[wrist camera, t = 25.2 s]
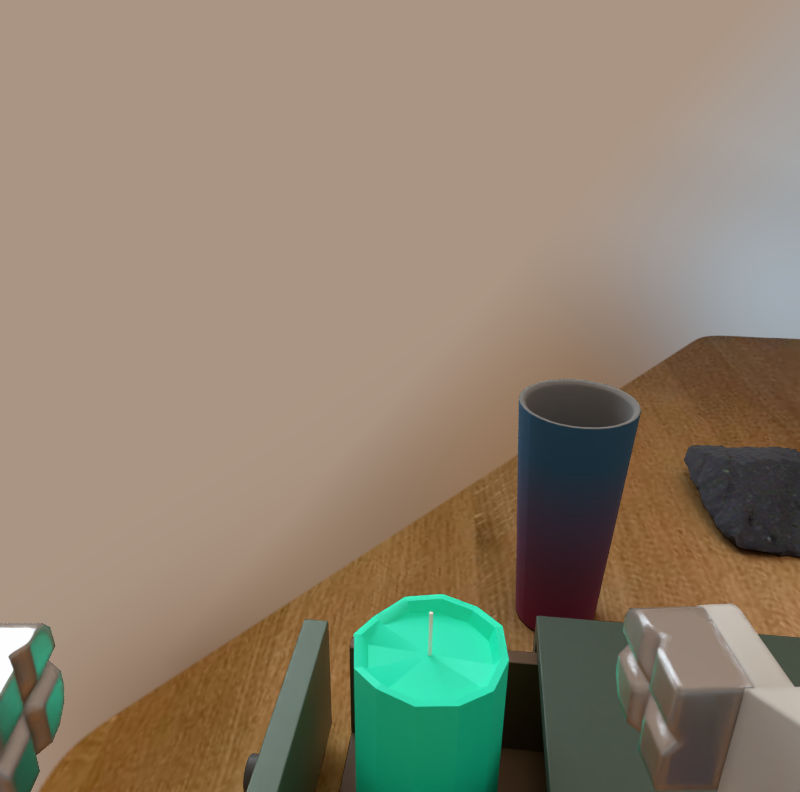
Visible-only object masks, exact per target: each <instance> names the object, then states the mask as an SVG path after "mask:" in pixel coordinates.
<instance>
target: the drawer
mask: <svg viewBox="0 0 800 792" xmlns="http://www.w3.org/2000/svg"><path fill="white" fill-rule="evenodd" d="M507 652H508V657H509V666H508V677H507V688H506V699H505V710H504V721H503V732H502V743H501V754H500V765H499V776H498V787H497V792H547V786H546V772H545V758H544V743H543V729H542V715H541V701H540V687H539V673H538V659H537V653H533V652H521V651H510V650H507ZM350 686H351V731H352V733H351V738H350V743H349V747H348V752H347V757H346V761H345V766H344V771H343V776H342V780H341V785H340V790H339V792H356V757H355V701H354V637H352V640H351V645H350ZM331 724H332V715H331V687H330V659H329V631H328V621H320V620H309V619H305V620H304V622H303V625H302V628H301V631H300V634H299V637H298V640H297V643H296V646H295V649H294V652H293V655H292V658H291V661H290V664H289V667H288V670H287V673H286V676H285V679H284V682H283V685H282V688H281V691H280V693H279V696H278V699H277V702H276V705H275V708H274V711H273V714H272V717H271V720H270V723H269V726H268V729H267V732H266V735H265V738H264V741H263V744H262V747H261V750H260V753H259V754H255V753H253V754H251V755H250V756H249V758H248V761H247V764H246V767H245V772H244V780H243V788H244V792H315V790H316V786H317V781H318V777H319V773H320V769H321V765H322V761H323V757H324V753H325V749H326V745H327V741H328V736H329V732H330V728H331Z"/></svg>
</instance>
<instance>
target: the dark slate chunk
mask: <svg viewBox="0 0 800 792" xmlns="http://www.w3.org/2000/svg"><path fill="white" fill-rule="evenodd" d="M684 461H685V463H686V465H687V466H688V469H689V472H690V478H691V479H692V480H693V483H694V484H695V485H696V487H697V489H698V490H699V492H700V495H701V499H702V503H703V505H704V507H705V508H706V510H707V511H708V512H709V514H710V516H711V517H712V519H713V520H714V522H715V524H716V527H717V528H718V529H719V530H720V531H722V532H723V534H724V535H725V536H726V537H727V538H729V539H730V540H731V541H733V542H734V543H736V546H737V547H740V548H743V549H752V550H756V551H763V552H768V553H773V554H778V555H780V556H784V555H791V556H794V557H800V452H797V451H796V449H789V448H781V447H767V448H765V447H761V448H756V447H739V448H725V447H724V446H711V445H704V446H700V445H694V446H690V447H689V448H688V450H687V453H686V456H685V458H684Z"/></svg>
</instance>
